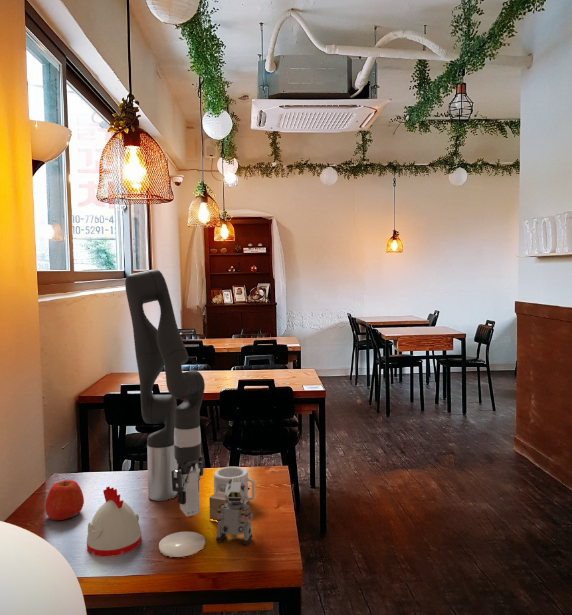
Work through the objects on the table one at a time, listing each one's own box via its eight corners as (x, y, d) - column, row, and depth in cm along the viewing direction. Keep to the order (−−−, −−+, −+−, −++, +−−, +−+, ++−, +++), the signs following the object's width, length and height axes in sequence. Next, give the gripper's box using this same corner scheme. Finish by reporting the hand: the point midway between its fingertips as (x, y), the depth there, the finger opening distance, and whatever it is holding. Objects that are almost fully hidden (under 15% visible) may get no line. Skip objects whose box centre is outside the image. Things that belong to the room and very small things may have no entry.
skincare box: (200, 513, 150) (199, 472, 149) (185, 517, 148) (184, 475, 147) (193, 505, 156) (192, 465, 155) (178, 508, 153) (177, 468, 153)
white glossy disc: (175, 532, 148) (175, 528, 148) (213, 539, 143) (213, 535, 143) (149, 552, 137) (149, 548, 137) (189, 561, 132) (189, 557, 132)
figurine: (258, 529, 149) (258, 477, 148) (245, 549, 138) (245, 493, 137) (228, 525, 151) (227, 474, 151) (213, 545, 140) (212, 490, 140)
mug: (207, 507, 164) (207, 475, 164) (224, 493, 174) (224, 464, 174) (247, 513, 159) (246, 481, 159) (262, 500, 169) (261, 469, 169)
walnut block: (218, 513, 159) (217, 491, 159) (232, 516, 158) (232, 493, 157) (209, 521, 155) (209, 497, 154) (225, 523, 153) (224, 500, 152)
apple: (70, 525, 152) (69, 489, 152) (36, 522, 154) (35, 486, 154) (91, 509, 163) (90, 475, 162) (59, 506, 165) (58, 473, 164)
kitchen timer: (122, 526, 152) (121, 475, 151) (151, 541, 143) (150, 486, 142) (76, 545, 141) (75, 490, 140) (105, 562, 132) (104, 503, 131)
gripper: (188, 432, 158) (189, 486, 159) (162, 448, 145) (163, 506, 146) (211, 435, 156) (212, 490, 157) (186, 451, 142) (187, 510, 143)
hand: (188, 498), depth 151 cm, fingers closed on skincare box, 7 cm apart
